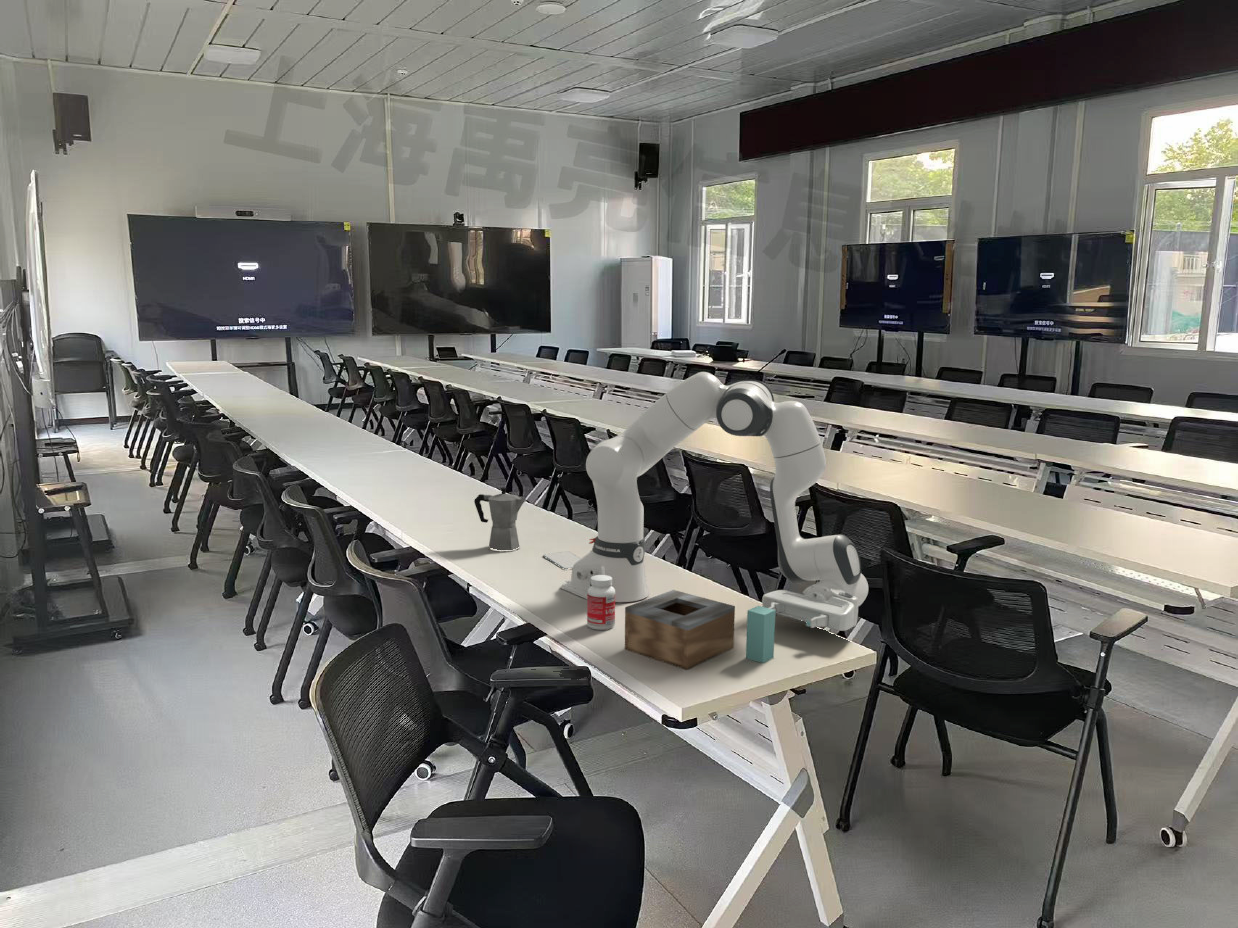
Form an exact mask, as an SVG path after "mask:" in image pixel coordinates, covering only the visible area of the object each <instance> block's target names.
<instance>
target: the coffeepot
mask: <svg viewBox="0 0 1238 928" xmlns="http://www.w3.org/2000/svg"><path fill="white" fill-rule="evenodd" d="M500 490H501V493H498V494H494V495H492V494H482V493H481V494H478V495H477V497H476V498H475V499H474V501H473V502H474V506H475V509H476V512H477V514H478V517H479V520H480V522H482V523H488V522H489V519H486V518H485V517H484V516H485V515H484V514H485V513H484V511H483V509H482V503H481V502H487V503H488V505H489V511H490V517H491V521H492V526H491V530H490V537H489V545H488V547H489V546H490V548H493V549H497V550H513V549H516V548H518V547H520V543H519V537H518V535H519V534H518V529H517V525H516V524H517V523H516V521H517V520H518V513H519V511H520V509H521V507H522V506H523V504H524V503H525V502H527V500H526V498H524V497H519V495H515V494H512V493H511V494H510V493H506V492H507V487H505V486H504V487H500Z"/></svg>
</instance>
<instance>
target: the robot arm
mask: <svg viewBox="0 0 1238 928" xmlns="http://www.w3.org/2000/svg"><path fill="white" fill-rule="evenodd" d="M712 419H713V420H714V419H716V420H717V423H718V425H719V427H720V428H721V429H722V430H723V431H724V432H726V433H727V434H729V435H731V436H736V437H762V436H764V437H765V438H766V440H767V442H768V444H769V447H770V449H771V453H772V457H773V460H774V465H775V471H774V472H775V473H774V477H772V479H771V480H770V484H769V496H770V497H769V498H770V505H771V510H772V515H773V516H772V517H773V523H774V530H775V534H776V535H775V536H776V542H777V543H776V544H777V563H778V567H779V571H780V572H781V574H782V575H783V576H784V577H785V578H786V579H787V580H789V581H790V582H791V583H792V584H796V585H799V584H803V583H808V582H811V581H818V582H817V583H814V584H812V585H809V586H807V587H806V588H805V589H804V590H803V591H802V593H800V592H795V591H792V590H791V591H790V590H786V589H777V590H773V591H770V592H767V593H764V594H763V596H762V599H761V603H762V604H761V607H765V608H769V609H773V610H775V618H776V617H777V616H778V615H779V616H782V617H786V618H790V619H795V620H796V621H797V620H798V621H801V622H806V623H805V627H808V628H811V629H814V628H816V627H817V628H819V627H823V628H827V629H832V630H836V631H841V632H842V631H843V632H844V631H848V630H849V629H852V628H854V627H855V626H857V623H858V617H859V607H861V605H862V604H863V603H864V601H865V600H866V598H867V596H868V594H869V584H868V581H867V578H866V577H865V576H864V574H862V561H861V559H862V558H861V556H860V553H859V550H858V548H857V546H856V545H855V544H854V542H853V541H852V539H850V538H848V537H847V536H846V535H844V534H834V535H824V536H821V537H812V538H804V537H802V536H801V535H800V532H799V526H798V518H797V512H796V507H795V506H796V500H797V498H798V496H799V495H801V494H802V493H803V492H805V491H806V490H808V489H809V488H810V487H812V486H814V485H815V484H816V483H817V482H818V481H819V480H820V479H821V478H822V476H823V475H824V472H825V471H826V467H827V459H826V454H825V450H824V446H823V443H822V440H821V438H820V434H819V432H818V429H817V427H816V425H815V422H814V420H813V418H812V417H811V415H810V412H809V411H808V409H807V407H806V406H805V405H804V404H803V403H801V402H799V401H797V400H785V401H781V402H775V397H774V394H773V392H772V390H771V388H770V387H769V386H768V385H767V384H766V383H765V382H763V381H760V380H757V379H743V380H741V379H740V380H735V381H729V382H727V383H726V384H723V383H722V382H721V380H720V379H719V378H718V377H717V376H715V375H713V374H712V373H710V372H708V371H707V372H706V371H700V372H699V371H698V372H697V373H695V374H693V375H692V376H689V377H688V378H685V379H684V380H683V381H681V382H679V383H678V384H676V385H675V386H673V387H672V388H671V389H670V390H669V391H667V392H666V393H665V394H663V395H662V396H661V397H659V398H658V399H657V400H656V401H655V402H654V403H652V404H651V405H650V406H648V408H646V409H645V410H643V412H642V413H641V414H640V415H639V416H638V417H637V419H635V421H633V423H631V425H629V427H627V428H626V429H625V430H624V431H622V432H621V433H619V434H618V435H616V436H614V437H612V438H609V439H605V440H603V441H601V442H599V443H597V444H596V445H595V446H594V447H593V448H592V449H591V451H590V452H589V453H588V455H587V456H586V461H585V469H586V473H587V475H588V477H589V478H590V480H591V481H592V485H593V488H594V494H595V498H596V505H597V535H596V536H595V537H594V538H593V537H592V538H590V539H589V541H590V542H589V543H588V544H590V545H591V544H593V546H592V549H591V550H590V552H588V553H587V554H586V555H584V556H583V557H580V558H581V559H580V560H578V561H577V562H576V563H575V564H574V566H573V568H572V569H571V574H570V576H571V577H570V578H569V579H567V580H565V581H563V582H562V584H561V589H562V590H565V591H567V592H569V593H571V594H573V595H576V596H578V597H581V598H583V599H584V600H587V591H588V589H589V587H591V586H592V585H591V577H592V576H595V575H607V576H610V577H612V585H611V586H612V587H613V588H614V589H615V603H629V602H630V603H631V602H636V601H637V602H638V601H640V600H643V599H644V600H645V599H646V598H647V597H648V596H650V592H649V587H648V584H647V578H646V577H647V576H646V569H645V562H644V561H645V559H644V558H645V554H646V538H645V536H644V520H645V519H644V518H645V517H644V516H645V514H644V505H643V503H642V501H641V498H640V495H639V489H638V483H637V482H638V481H637V480H638V477H640V476H642V475H644V474H645V473H646V472H647V471H649V469H651V468H653V466H654V465H656V464H657V463H658V462H659V461H660V460H661V459H663V458H664V457H665V456H666V455H667V454H669V452H670V451H671V450H673V449H674V448H675V447H677V446H678V445H679V444H680V443H682V442H683V441H684V440H685V439H687V438H688V437H690V436H691V435H692V434H693V433H694V432H696V431H697V430H699V429H700V428H701V427H702V426H703V425H705V424H706V423H707V422H709V421H711V420H712Z"/></svg>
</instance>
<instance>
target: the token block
mask: <svg viewBox="0 0 1238 928" xmlns="http://www.w3.org/2000/svg"><path fill="white" fill-rule="evenodd" d="M746 613H747V617H746V619H747V620H746V639H745V640H746V645H745V659H747V660H751V661H753V662H754V661H755V662H758V663H761V664H765V663H767V662H769V661H770V660H772V659H773V658H774V656H775V655H774V654H775V653H774V652H775V633H776V631H775V630H776V629H775V627H776V617H775V610H773V609H769V608H765V607H762V605H757V606H755V607H752V608H750V609H747V611H746Z"/></svg>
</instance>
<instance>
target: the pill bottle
mask: <svg viewBox="0 0 1238 928" xmlns="http://www.w3.org/2000/svg"><path fill="white" fill-rule="evenodd" d="M591 585H592V586H591V587H589V589H588V591H587V599H586V601H587V603H586V605H587V607H586V608H587V609H586V621H587V622H586V624H587V627H588V628H590V629H592V630H597V631H607V630H610V629H612V628H614V627H615V625H616V602H615V589H614V588H613V587H612V586H611V585H612V577H610V576H607V575H595V576H592V577H591Z"/></svg>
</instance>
